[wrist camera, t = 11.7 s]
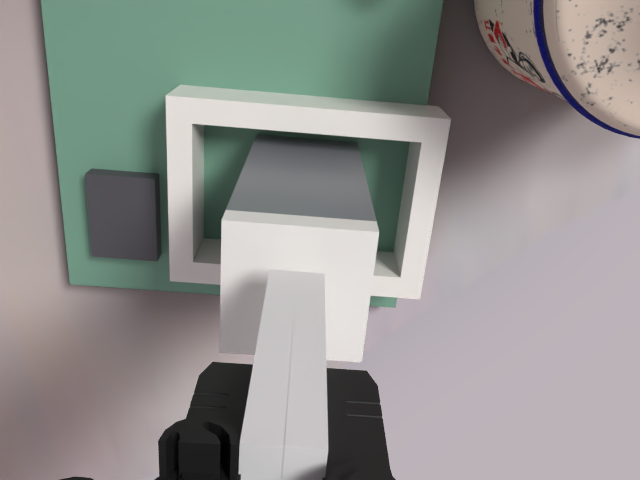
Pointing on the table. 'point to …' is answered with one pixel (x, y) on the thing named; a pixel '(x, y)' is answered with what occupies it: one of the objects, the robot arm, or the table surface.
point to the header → (304, 117)
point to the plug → (299, 238)
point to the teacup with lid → (572, 53)
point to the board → (219, 141)
